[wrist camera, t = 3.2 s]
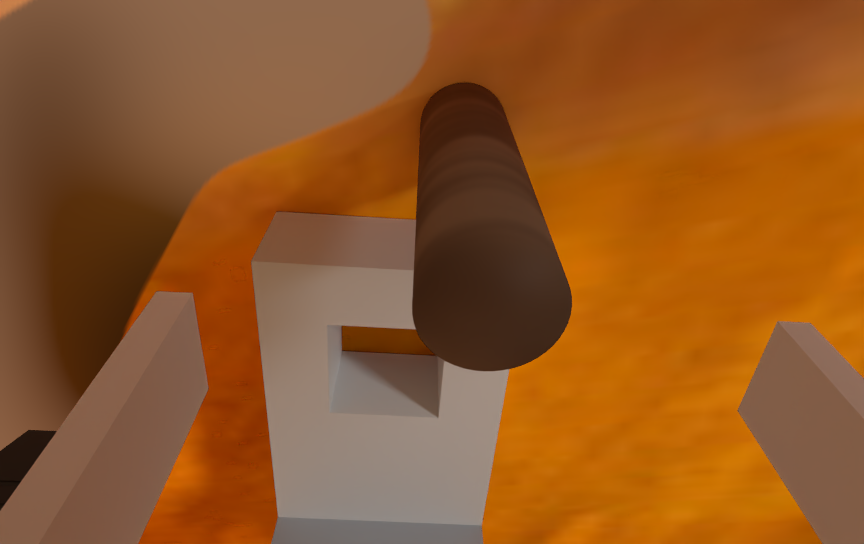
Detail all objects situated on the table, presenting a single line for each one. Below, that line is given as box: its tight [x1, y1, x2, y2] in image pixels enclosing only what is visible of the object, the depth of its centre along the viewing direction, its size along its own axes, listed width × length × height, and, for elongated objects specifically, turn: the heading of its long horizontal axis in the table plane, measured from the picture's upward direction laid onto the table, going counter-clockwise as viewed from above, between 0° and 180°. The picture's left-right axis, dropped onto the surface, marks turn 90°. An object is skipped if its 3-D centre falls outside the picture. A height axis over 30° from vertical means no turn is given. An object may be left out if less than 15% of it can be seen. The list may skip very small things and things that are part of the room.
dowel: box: [412, 83, 572, 371], centre depth 21 cm, size 4×4×15 cm
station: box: [251, 212, 509, 544], centre depth 29 cm, size 19×12×15 cm, turn 176°
